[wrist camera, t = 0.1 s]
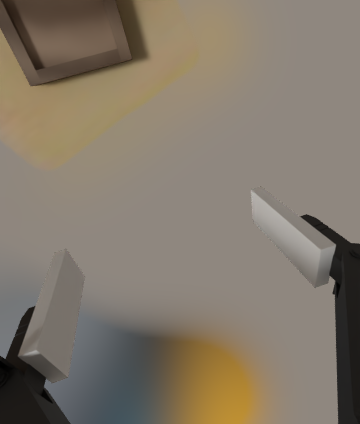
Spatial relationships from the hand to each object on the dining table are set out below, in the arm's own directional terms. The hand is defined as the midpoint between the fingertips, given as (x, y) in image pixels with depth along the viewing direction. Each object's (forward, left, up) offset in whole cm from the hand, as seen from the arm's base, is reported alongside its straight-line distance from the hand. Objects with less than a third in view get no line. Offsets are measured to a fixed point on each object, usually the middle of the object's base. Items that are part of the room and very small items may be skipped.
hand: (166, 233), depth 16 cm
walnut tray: (-18, -4, -28) cm, 34 cm away
